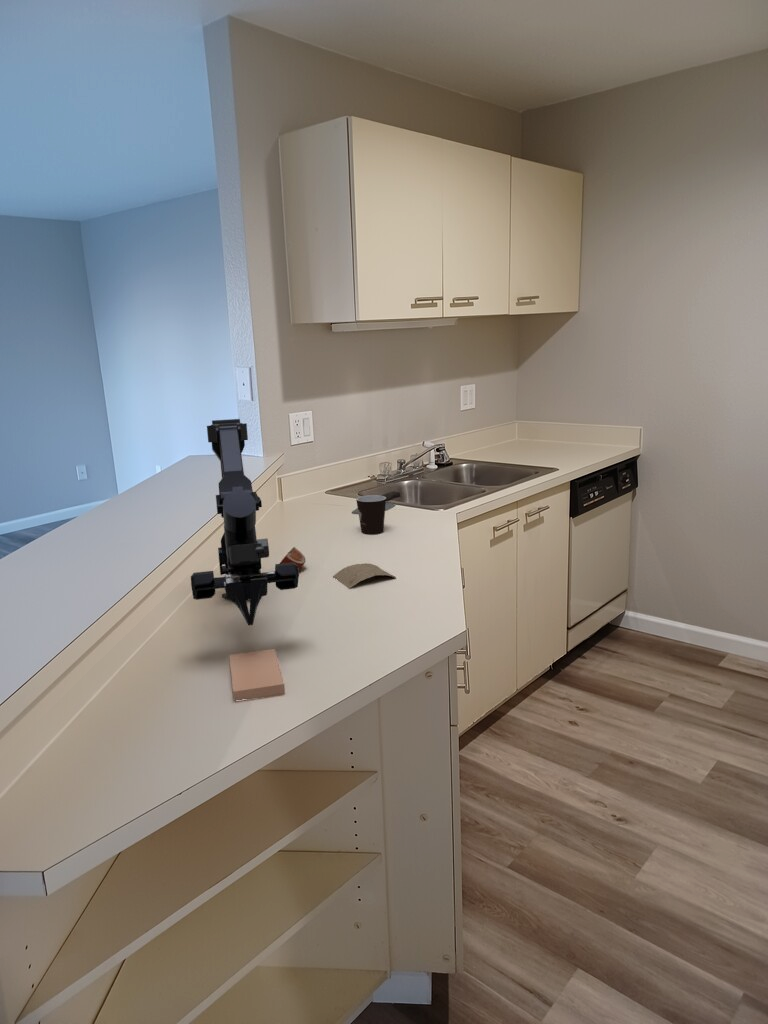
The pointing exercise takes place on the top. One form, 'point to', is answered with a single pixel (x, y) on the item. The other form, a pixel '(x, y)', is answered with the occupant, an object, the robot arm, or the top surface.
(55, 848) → the top surface
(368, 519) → the coffee mug
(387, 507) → the cleaver
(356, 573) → the clay tablet
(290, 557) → the fruit slice
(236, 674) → the tile
